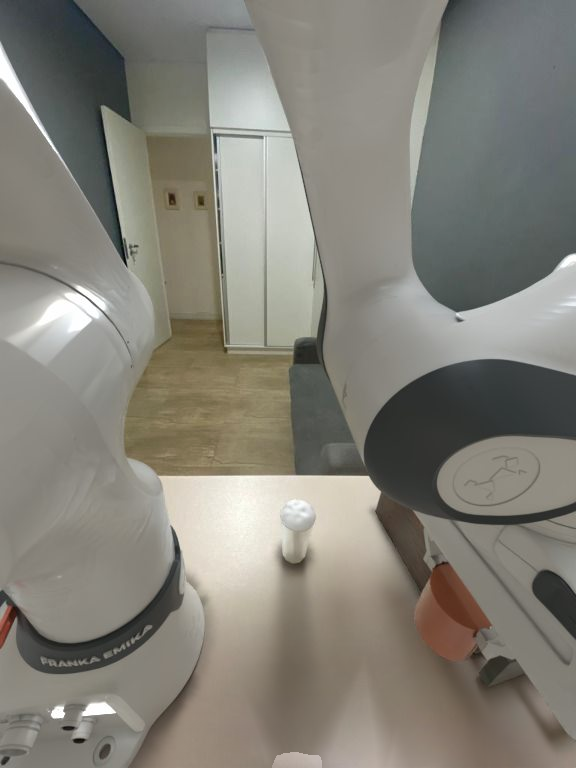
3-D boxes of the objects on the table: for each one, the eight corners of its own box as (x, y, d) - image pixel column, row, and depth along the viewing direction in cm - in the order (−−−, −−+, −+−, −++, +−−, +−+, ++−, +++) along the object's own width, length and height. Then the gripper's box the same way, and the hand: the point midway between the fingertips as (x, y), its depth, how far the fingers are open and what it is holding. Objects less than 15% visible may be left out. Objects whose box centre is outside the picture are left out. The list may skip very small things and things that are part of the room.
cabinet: (506, 570, 43) (530, 536, 39) (421, 592, 40) (439, 557, 36) (446, 498, 53) (460, 465, 50) (375, 511, 50) (385, 477, 47)
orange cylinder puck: (488, 652, 29) (513, 621, 26) (437, 669, 28) (458, 638, 25) (448, 590, 34) (466, 557, 31) (403, 602, 33) (417, 569, 30)
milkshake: (266, 556, 43) (268, 507, 38) (292, 531, 46) (297, 484, 41) (290, 580, 40) (296, 531, 35) (316, 552, 44) (324, 504, 39)
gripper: (401, 420, 30) (374, 514, 37) (671, 711, 13) (527, 787, 19) (456, 413, 31) (420, 505, 38) (766, 667, 14) (600, 752, 21)
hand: (457, 602), depth 29 cm, fingers closed on orange cylinder puck, 5 cm apart
